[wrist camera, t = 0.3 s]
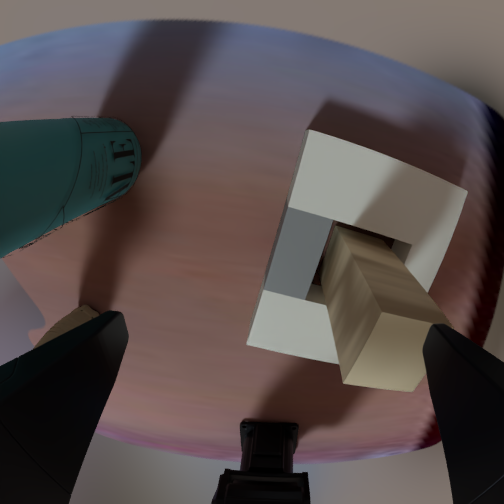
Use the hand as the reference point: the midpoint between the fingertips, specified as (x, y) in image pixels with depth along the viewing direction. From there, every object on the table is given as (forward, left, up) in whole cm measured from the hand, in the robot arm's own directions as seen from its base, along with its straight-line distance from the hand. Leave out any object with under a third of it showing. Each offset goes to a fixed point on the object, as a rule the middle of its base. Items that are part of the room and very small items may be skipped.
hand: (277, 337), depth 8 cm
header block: (-4, -5, -15) cm, 17 cm away
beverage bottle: (+4, +13, -15) cm, 20 cm away
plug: (-4, -5, -15) cm, 17 cm away
